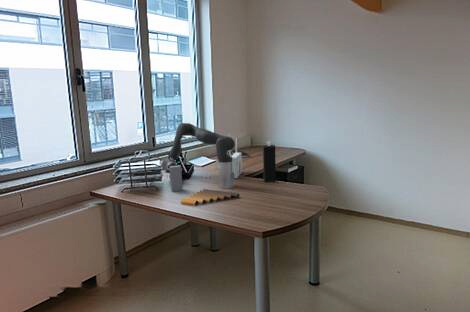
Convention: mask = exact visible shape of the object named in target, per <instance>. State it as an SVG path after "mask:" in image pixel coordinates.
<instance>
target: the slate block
mask: <svg viewBox="0 0 470 312" xmlns="http://www.w3.org/2000/svg"><path fill="white" fill-rule="evenodd" d="M181 168H182V166H181V165H179V164H177V166H170V173H169V177H170V190H171V192H179V191H183V176H182V175H183V174H182V171H181Z"/></svg>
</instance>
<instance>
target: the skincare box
mask: <svg viewBox="0 0 470 312" xmlns="http://www.w3.org/2000/svg"><path fill="white" fill-rule="evenodd" d="M231 157H232V166H233V172H234V178H236V179H238V178H239V176H240V175H241V174H242V171H243V169H242V162H243V160H242V159H243V158H241V153H234V154H233V155H232V156H231Z"/></svg>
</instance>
